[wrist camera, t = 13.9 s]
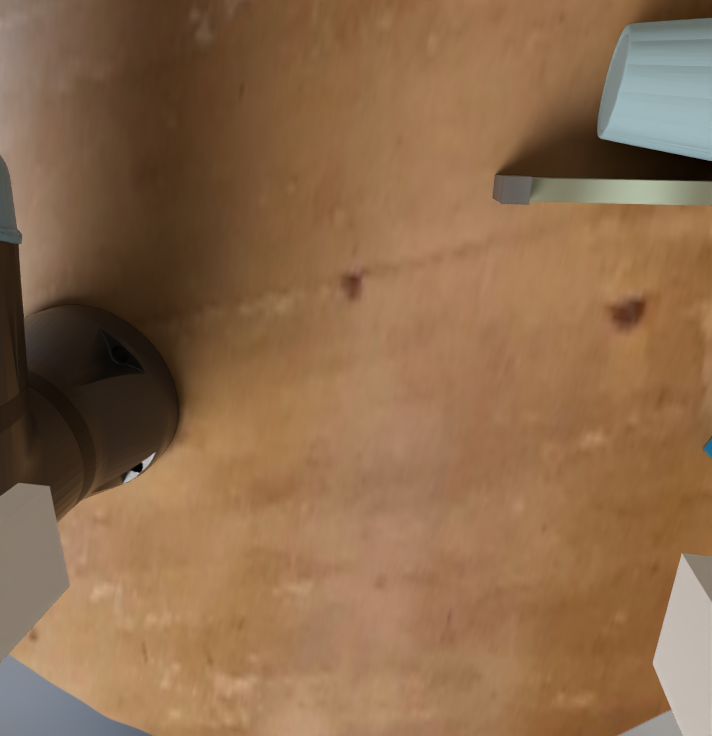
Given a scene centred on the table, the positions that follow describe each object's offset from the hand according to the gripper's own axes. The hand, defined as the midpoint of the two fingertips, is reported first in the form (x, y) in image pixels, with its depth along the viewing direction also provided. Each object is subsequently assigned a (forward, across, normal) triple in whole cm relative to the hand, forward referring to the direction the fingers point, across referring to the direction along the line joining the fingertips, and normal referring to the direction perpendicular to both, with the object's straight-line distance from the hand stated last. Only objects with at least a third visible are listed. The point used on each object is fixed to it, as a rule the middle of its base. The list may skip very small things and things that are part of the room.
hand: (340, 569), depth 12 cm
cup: (+29, +12, +15) cm, 34 cm away
